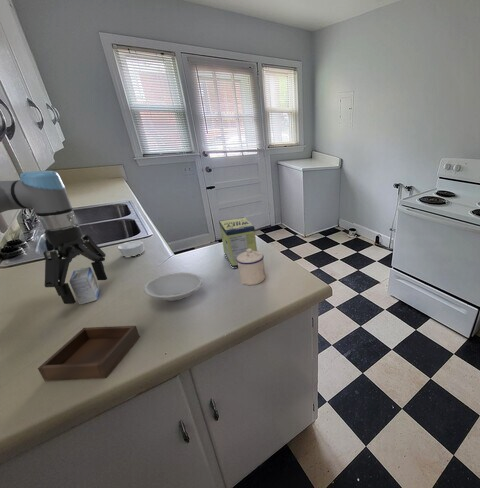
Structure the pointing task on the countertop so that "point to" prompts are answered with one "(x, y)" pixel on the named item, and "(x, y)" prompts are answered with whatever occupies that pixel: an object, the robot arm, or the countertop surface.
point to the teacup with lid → (251, 267)
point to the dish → (173, 286)
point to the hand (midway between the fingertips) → (87, 290)
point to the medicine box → (84, 285)
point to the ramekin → (131, 248)
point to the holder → (90, 353)
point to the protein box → (237, 238)
